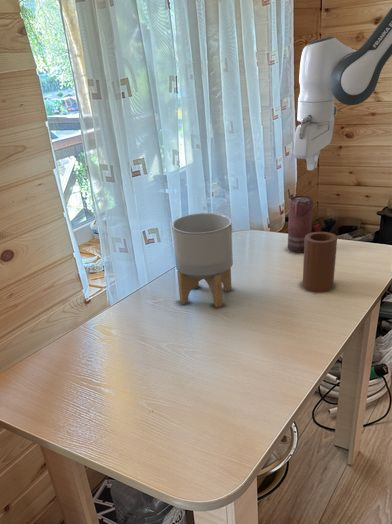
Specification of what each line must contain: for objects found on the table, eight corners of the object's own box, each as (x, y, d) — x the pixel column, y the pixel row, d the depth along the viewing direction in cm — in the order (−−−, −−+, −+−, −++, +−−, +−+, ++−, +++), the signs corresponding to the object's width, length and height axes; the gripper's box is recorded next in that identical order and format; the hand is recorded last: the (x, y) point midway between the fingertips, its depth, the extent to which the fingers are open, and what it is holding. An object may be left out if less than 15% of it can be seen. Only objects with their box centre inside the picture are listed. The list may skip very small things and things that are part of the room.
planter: (244, 299, 118) (242, 224, 109) (194, 314, 114) (188, 237, 104) (216, 279, 128) (213, 209, 119) (169, 293, 124) (162, 220, 114)
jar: (336, 282, 123) (340, 233, 116) (327, 294, 118) (331, 244, 111) (308, 277, 126) (311, 230, 120) (298, 289, 121) (300, 240, 114)
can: (285, 252, 140) (286, 201, 133) (290, 244, 145) (292, 194, 138) (307, 254, 138) (310, 202, 131) (312, 245, 143) (315, 195, 135)
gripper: (313, 119, 121) (310, 179, 128) (339, 106, 135) (334, 161, 143) (288, 119, 123) (286, 177, 131) (316, 106, 138) (312, 159, 146)
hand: (311, 169), depth 137 cm, fingers closed
